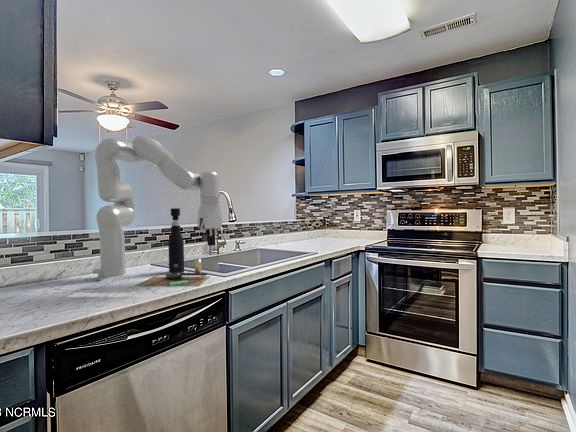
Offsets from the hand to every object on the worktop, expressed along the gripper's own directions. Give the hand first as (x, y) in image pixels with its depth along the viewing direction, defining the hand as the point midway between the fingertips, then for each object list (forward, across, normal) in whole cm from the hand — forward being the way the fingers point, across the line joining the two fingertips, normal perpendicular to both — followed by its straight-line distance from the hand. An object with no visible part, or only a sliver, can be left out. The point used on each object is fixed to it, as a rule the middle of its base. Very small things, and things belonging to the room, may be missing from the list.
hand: (211, 245), depth 134 cm
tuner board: (+14, +15, -6) cm, 21 cm away
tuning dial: (+13, +9, -5) cm, 16 cm away
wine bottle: (+14, +3, -20) cm, 25 cm away
